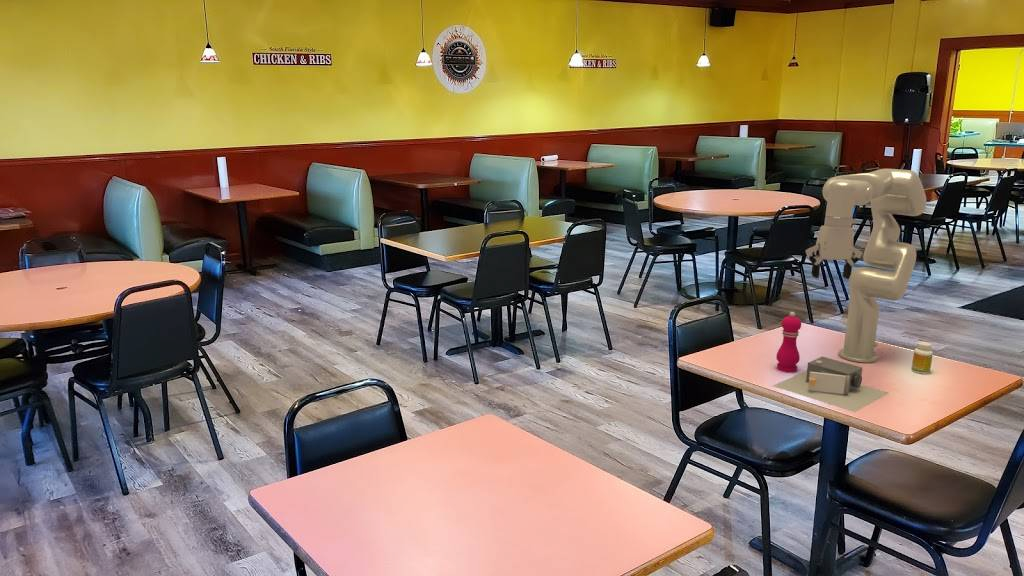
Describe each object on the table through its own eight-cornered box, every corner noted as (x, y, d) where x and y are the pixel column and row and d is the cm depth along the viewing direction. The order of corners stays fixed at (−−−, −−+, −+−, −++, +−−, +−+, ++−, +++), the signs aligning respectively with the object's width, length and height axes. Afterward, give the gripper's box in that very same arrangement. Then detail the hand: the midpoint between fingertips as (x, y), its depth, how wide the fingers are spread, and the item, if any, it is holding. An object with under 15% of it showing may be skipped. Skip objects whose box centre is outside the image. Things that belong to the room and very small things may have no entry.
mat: (808, 370, 250) (808, 369, 250) (888, 394, 231) (889, 392, 231) (772, 386, 236) (772, 385, 236) (854, 413, 217) (854, 411, 217)
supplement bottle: (925, 375, 247) (930, 347, 244) (908, 371, 250) (912, 343, 248) (932, 371, 250) (936, 343, 248) (915, 367, 254) (919, 339, 251)
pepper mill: (801, 374, 247) (807, 315, 242) (779, 373, 247) (785, 314, 242) (793, 366, 254) (800, 308, 249) (772, 366, 254) (777, 308, 249)
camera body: (820, 375, 245) (822, 354, 243) (864, 388, 235) (867, 366, 233) (805, 382, 239) (807, 360, 237) (850, 395, 229) (853, 373, 227)
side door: (808, 389, 233) (810, 370, 231) (847, 394, 229) (850, 375, 228) (808, 391, 231) (810, 373, 229) (848, 396, 227) (850, 378, 226)
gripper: (859, 221, 234) (852, 276, 238) (804, 219, 234) (798, 274, 237) (872, 225, 227) (864, 281, 231) (815, 223, 226) (808, 279, 230)
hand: (830, 277), depth 234 cm, fingers open, 9 cm apart
